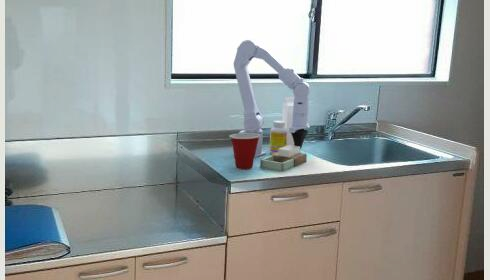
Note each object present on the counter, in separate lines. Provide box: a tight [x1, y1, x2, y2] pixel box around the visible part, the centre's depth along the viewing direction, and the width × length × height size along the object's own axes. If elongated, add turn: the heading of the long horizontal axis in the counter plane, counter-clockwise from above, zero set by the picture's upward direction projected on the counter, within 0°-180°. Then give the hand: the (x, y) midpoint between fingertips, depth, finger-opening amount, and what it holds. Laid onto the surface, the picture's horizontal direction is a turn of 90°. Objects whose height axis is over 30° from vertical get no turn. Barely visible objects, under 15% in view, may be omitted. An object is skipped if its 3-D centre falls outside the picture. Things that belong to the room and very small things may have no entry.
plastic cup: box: [229, 132, 260, 171], centre depth 189 cm, size 11×11×12 cm
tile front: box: [278, 147, 295, 157], centre depth 198 cm, size 4×4×2 cm
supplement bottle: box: [269, 120, 287, 155], centre depth 214 cm, size 7×7×13 cm
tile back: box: [285, 145, 301, 155], centre depth 202 cm, size 4×4×2 cm
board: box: [270, 152, 308, 168], centre depth 201 cm, size 10×10×3 cm
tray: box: [259, 154, 295, 172], centre depth 193 cm, size 9×9×3 cm
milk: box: [281, 96, 294, 146], centre depth 220 cm, size 6×6×22 cm
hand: (298, 148), depth 207 cm, fingers closed
